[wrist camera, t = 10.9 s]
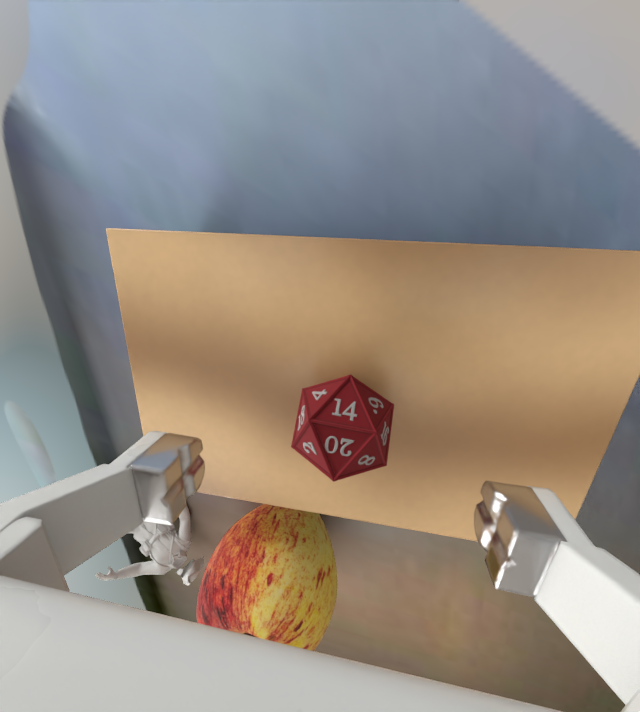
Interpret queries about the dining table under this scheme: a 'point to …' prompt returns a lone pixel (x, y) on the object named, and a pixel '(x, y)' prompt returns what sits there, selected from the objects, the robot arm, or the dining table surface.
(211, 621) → the apple
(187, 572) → the soldier figure
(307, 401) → the dice
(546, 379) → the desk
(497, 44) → the dining table surface
